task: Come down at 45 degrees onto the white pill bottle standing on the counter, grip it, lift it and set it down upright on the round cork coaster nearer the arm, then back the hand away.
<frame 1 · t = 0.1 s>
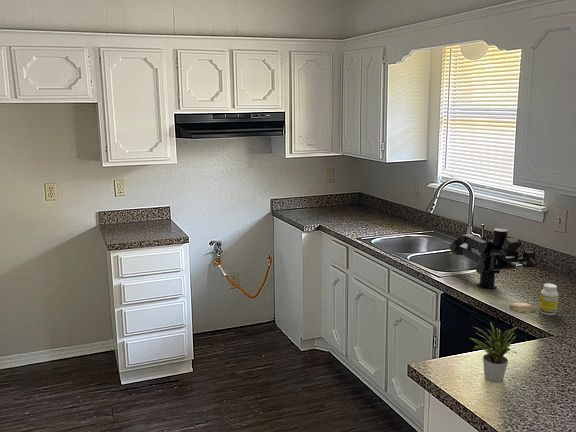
hand: (525, 266, 228), 17 cm above the counter, tool horizontal, fingers open, 9 cm apart
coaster: (522, 308, 230), on the counter
pill bottle: (547, 313, 225), on the counter
house plant: (494, 377, 175), on the counter
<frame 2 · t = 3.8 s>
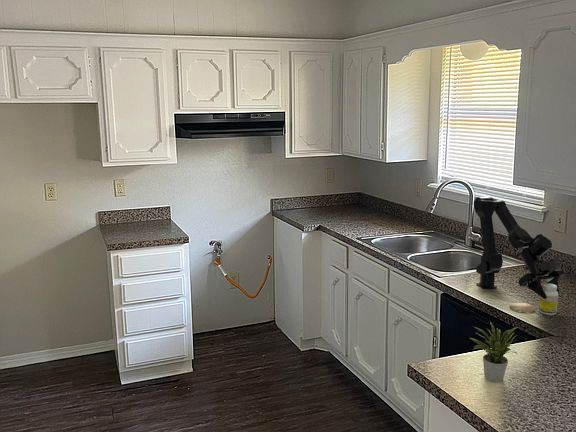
hand: (552, 297, 223), 7 cm above the counter, tool tilted 45°, fingers closed on pill bottle, 6 cm apart
pill bottle: (547, 313, 225), on the counter, touching gripper
everything else where it was.
when the fingers open (9 cm above the counter, at t = 7.0 s): pill bottle drops 1 cm, resting on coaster.
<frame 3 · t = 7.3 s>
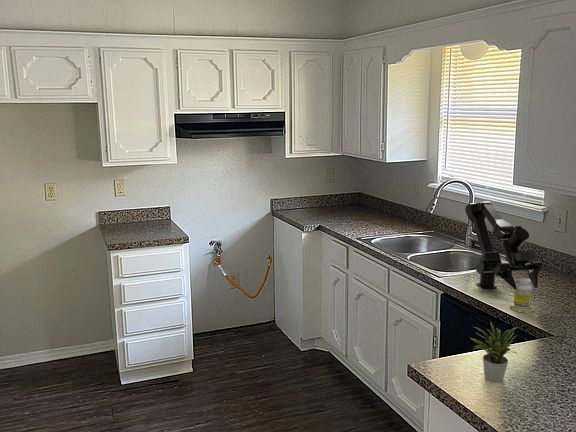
hand: (526, 288, 226), 9 cm above the counter, tool tilted 45°, fingers open, 9 cm apart
pill bottle: (521, 306, 230), point 1 cm above the counter, touching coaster
everything else where it was.
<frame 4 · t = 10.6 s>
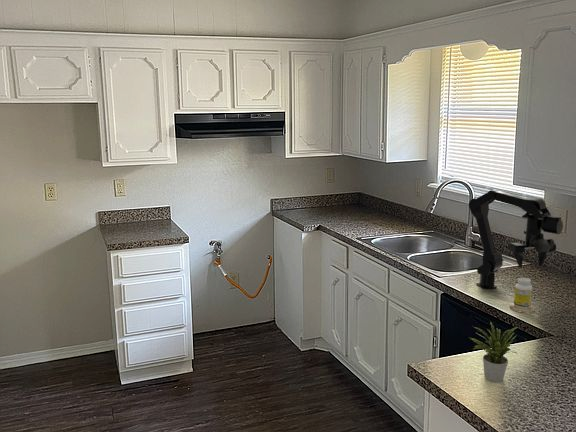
hand: (530, 267, 240), 13 cm above the counter, tool pointing down, fingers open, 9 cm apart
nothing on the counter moved.
at the end: pill bottle 0.2 cm from the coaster (horizontally); pill bottle tilted 0°; the gripper is holding nothing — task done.
